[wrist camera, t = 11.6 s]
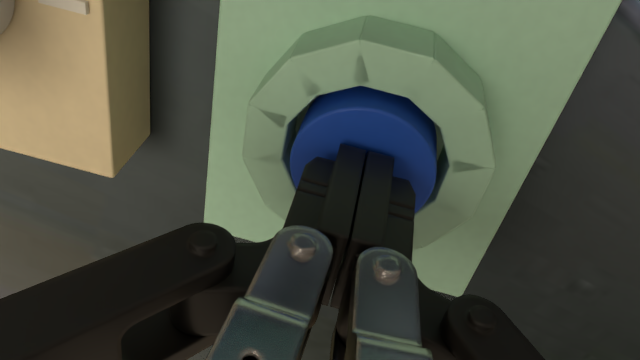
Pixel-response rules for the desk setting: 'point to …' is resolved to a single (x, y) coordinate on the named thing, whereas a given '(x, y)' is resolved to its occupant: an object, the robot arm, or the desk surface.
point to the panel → (76, 82)
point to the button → (370, 134)
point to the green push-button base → (404, 80)
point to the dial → (6, 13)
